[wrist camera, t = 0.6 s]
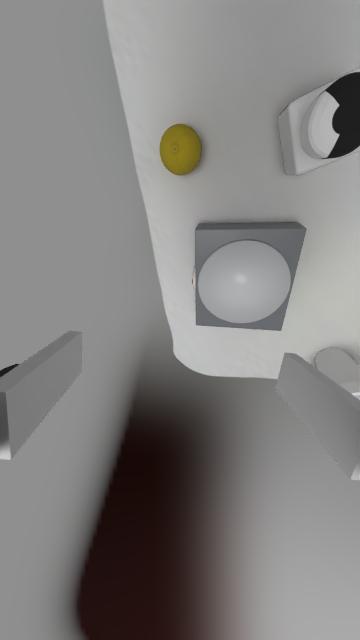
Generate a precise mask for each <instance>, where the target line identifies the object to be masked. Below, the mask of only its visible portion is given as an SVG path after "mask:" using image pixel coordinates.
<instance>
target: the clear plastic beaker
mask: <svg viewBox="0 0 360 640" xmlns="http://www.w3.org/2000/svg"><path fill="white" fill-rule="evenodd" d="M315 364H316V368H317V369H318V370H319V371H320V372H322V373H323V374H324V375H326V376H327V377H329V378H330V379H331V380H333V381H334V382H336V383H337V384H338V385H340V386H341V387H342V388H344V389H345V390H347V391H348V392H349V393H351V394H352V395H354V396H355V397H356V398H358V399H359V400H360V367H359V366H358V365H357V363H356V362H355V361H354V360H353V359H352V358H351V357H350V356H349V355H348V354H347V353H346V352H345V351H344V350H343V349H340V348H327V349H324V350H322V351H320V352H319V353H318V354H317V355H316V357H315Z"/></svg>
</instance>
